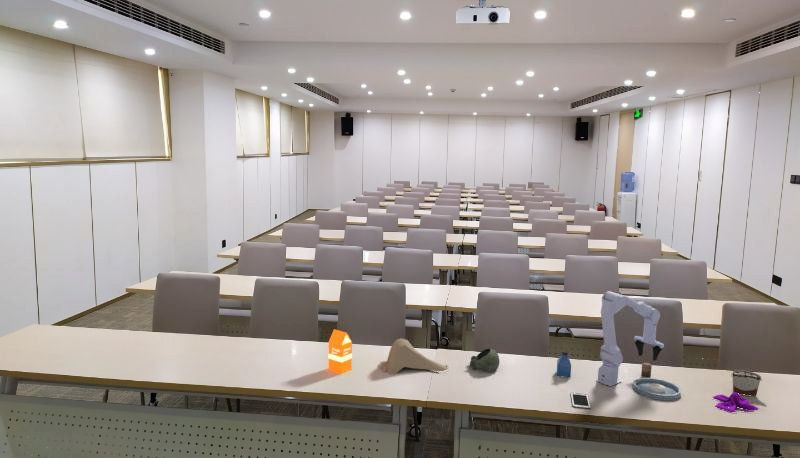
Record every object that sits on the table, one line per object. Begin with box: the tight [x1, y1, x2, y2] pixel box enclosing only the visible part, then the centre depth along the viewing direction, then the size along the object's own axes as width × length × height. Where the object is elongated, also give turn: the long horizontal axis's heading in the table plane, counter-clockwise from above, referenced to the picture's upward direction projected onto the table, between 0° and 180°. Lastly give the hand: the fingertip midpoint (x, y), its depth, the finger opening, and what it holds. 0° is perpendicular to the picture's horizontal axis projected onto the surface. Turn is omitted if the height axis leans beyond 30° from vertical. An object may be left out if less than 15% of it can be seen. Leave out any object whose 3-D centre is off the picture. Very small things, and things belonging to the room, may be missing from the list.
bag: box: [379, 338, 449, 375], centre depth 289 cm, size 19×17×35 cm
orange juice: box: [328, 328, 353, 375], centre depth 283 cm, size 8×9×20 cm
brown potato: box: [640, 362, 653, 378], centre depth 286 cm, size 4×4×6 cm
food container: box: [730, 369, 763, 397], centre depth 268 cm, size 12×6×10 cm, turn 71°
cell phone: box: [570, 392, 592, 410], centre depth 255 cm, size 8×15×1 cm, turn 167°
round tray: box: [633, 377, 682, 401], centre depth 268 cm, size 20×20×2 cm
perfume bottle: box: [556, 350, 572, 378], centre depth 284 cm, size 6×6×12 cm
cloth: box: [712, 391, 760, 413], centre depth 254 cm, size 22×19×6 cm
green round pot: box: [469, 347, 500, 372], centre depth 291 cm, size 15×15×10 cm
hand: (647, 357), depth 285 cm, fingers open, 7 cm apart
